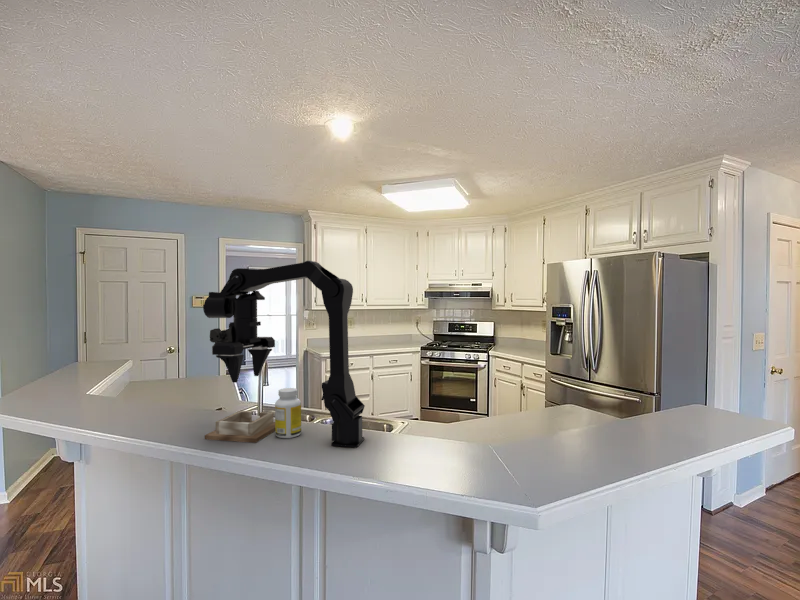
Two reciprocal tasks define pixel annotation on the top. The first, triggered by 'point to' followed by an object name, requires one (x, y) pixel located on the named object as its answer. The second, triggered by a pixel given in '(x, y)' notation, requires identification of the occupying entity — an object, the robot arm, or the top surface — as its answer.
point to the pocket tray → (243, 427)
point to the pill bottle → (288, 414)
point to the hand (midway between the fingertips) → (246, 379)
